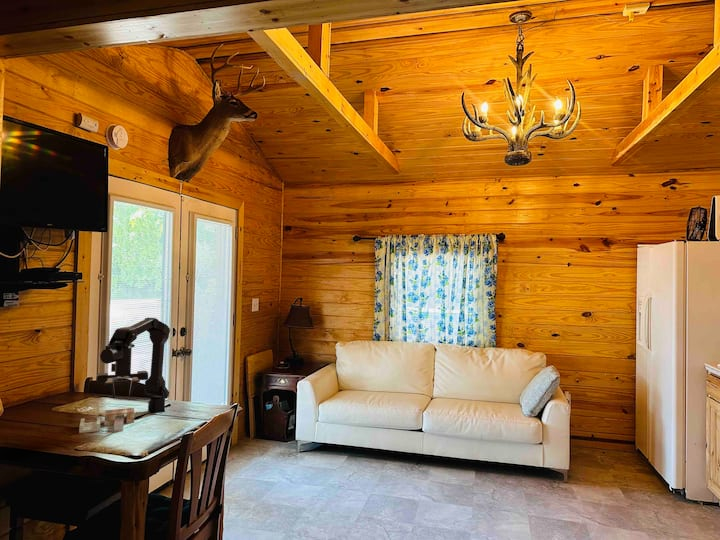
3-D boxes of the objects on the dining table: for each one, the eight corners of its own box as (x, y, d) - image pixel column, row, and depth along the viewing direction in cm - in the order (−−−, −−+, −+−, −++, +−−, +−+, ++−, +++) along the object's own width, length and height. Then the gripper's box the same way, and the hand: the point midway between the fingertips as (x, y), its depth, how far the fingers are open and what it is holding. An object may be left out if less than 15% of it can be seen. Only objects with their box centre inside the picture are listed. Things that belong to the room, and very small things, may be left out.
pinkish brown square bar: (116, 419, 204) (116, 412, 204) (124, 419, 206) (124, 411, 206) (113, 432, 188) (114, 424, 188) (122, 431, 189) (123, 423, 189)
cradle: (100, 423, 197) (100, 416, 197) (99, 430, 188) (100, 423, 188) (81, 425, 194) (81, 418, 194) (79, 433, 185) (79, 425, 185)
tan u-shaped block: (133, 418, 206) (133, 407, 206) (134, 422, 200) (134, 411, 200) (104, 421, 201) (105, 410, 201) (104, 425, 195) (104, 414, 195)
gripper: (147, 355, 205) (145, 391, 205) (98, 357, 197) (96, 395, 196) (148, 359, 195) (147, 397, 195) (97, 362, 187) (95, 401, 186)
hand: (121, 397), depth 193 cm, fingers open, 5 cm apart
